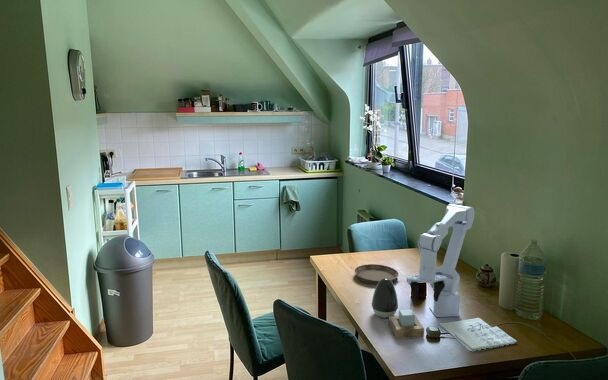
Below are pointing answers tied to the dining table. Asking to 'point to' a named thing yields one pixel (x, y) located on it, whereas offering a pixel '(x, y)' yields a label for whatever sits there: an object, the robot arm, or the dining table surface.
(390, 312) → the dark grey egg shape
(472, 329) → the paper napkin stack
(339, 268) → the dining table surface
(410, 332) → the square wooden tray
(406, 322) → the blue block
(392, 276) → the plant saucer
